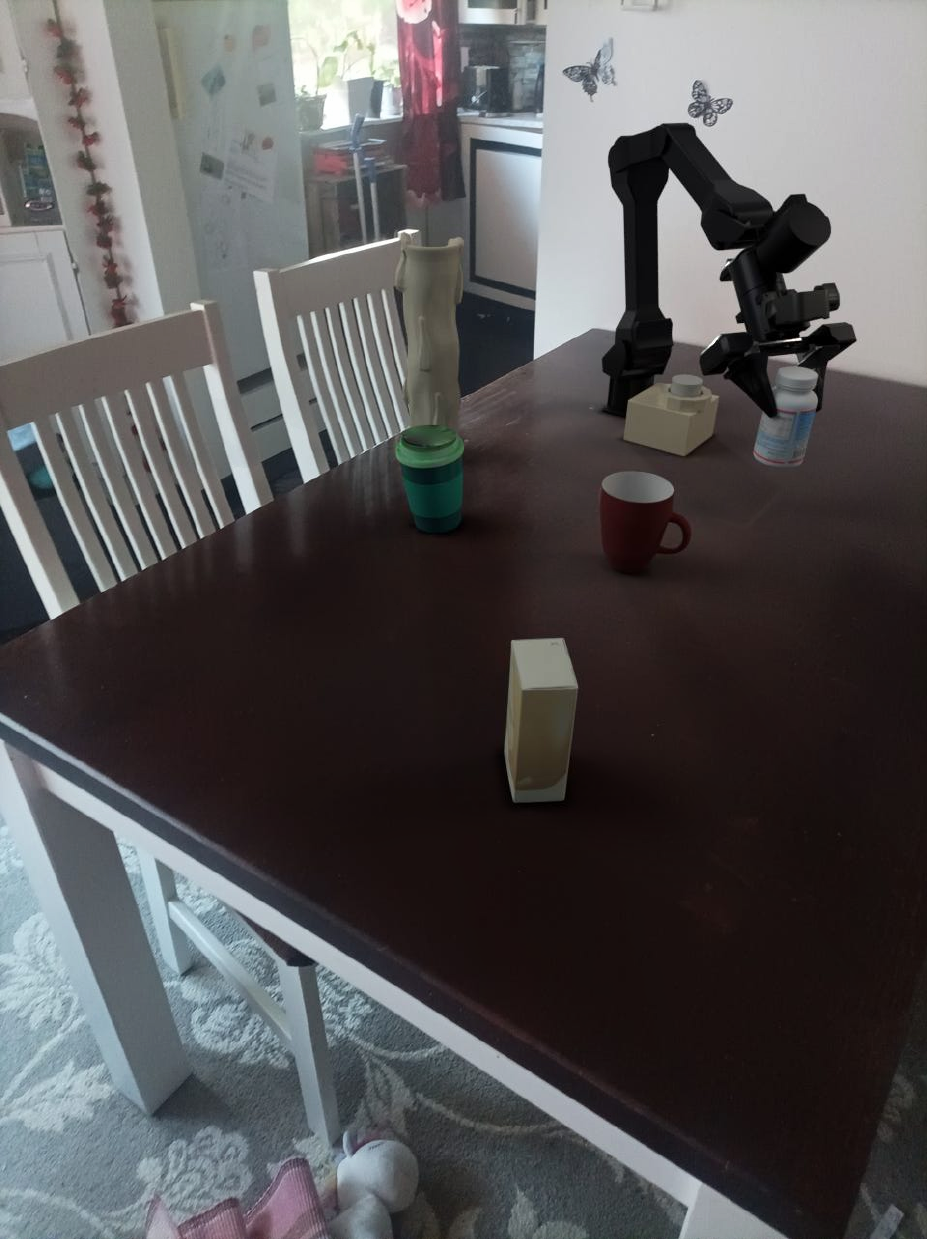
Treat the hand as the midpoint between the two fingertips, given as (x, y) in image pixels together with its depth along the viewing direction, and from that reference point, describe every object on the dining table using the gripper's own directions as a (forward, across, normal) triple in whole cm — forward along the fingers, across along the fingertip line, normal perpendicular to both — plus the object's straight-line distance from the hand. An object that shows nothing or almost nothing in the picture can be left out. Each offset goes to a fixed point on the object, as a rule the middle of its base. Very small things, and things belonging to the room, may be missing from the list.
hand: (795, 414), depth 105 cm
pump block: (-8, -1, +28) cm, 29 cm away
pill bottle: (+4, 0, +6) cm, 7 cm away
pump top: (-12, 0, +21) cm, 24 cm away
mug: (+14, -23, +4) cm, 28 cm away
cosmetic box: (+34, -48, -16) cm, 61 cm away
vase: (-11, -37, +31) cm, 49 cm away
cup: (+3, -43, +16) cm, 46 cm away
